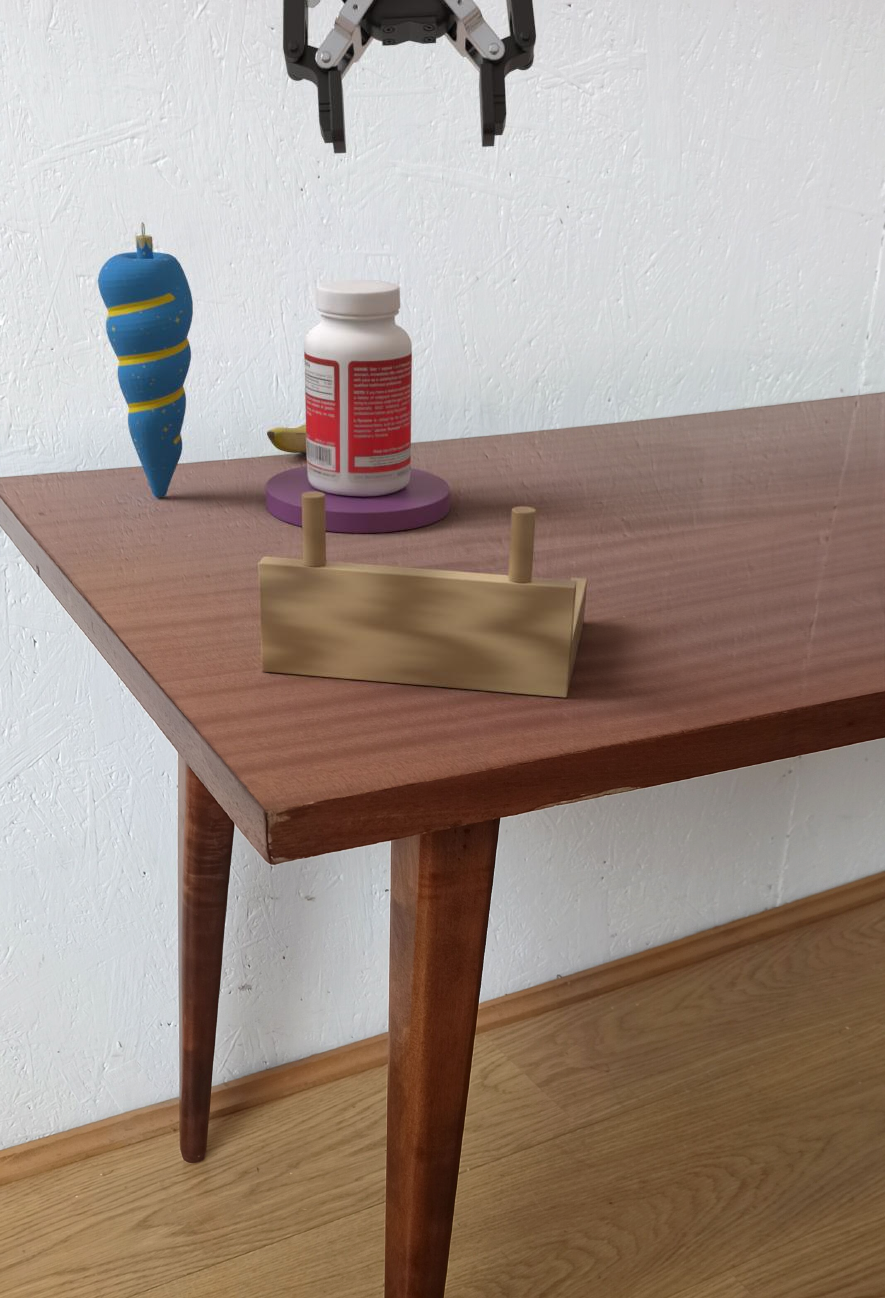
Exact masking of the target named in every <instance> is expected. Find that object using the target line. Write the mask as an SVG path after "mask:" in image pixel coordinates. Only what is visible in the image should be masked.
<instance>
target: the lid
mask: <svg viewBox="0 0 885 1298" xmlns="http://www.w3.org/2000/svg"><path fill="white" fill-rule="evenodd" d="M309 491H317V492H322V493H324V494H325V521H326V532H331V533H332V532H334V533H346V534H379V533H391V532H401V531H409V530H413V529H418V528H422V527H426V526H429V525H431V524H434V523H436V522H438V521H440V520H442V519H444V518H446V516H447V515H448V514H449V512H450V509H451V487H450V485H449V483H448V482H447V481H446V480H445V479H444V478H442V477H440V476H438V475H436V474H434V473H431V472H428V471H425V470H421V469H417V468H413V467H411V470H410V480H409V482H408V484H407V485H406V486H405V487H404V488H403V489H401V490H399V491H396V492H393V493H390V494H386V495H380V496H367V497H362V496H345V495H337V494H331V493H327V492H324V491H321V490H318V489H316V488H314V487H313V486H312V485H311V484H310V482H309V480H308V474H307V465H304V466H299V467H298V466H297V467H294V468H290V469H287V470H284V471H281V472H279V473H277V474H275V475H273V476H272V477H270V478H269V479H268V480H267V481H266V483H265V506H266V510H267V511H268V512H269V514H271V516H273V517H275V518H277V519H278V520H280V521H282V522H285V523H288V524H291V525H293V526H298V527H301V528H302V493H304V492H309Z"/></svg>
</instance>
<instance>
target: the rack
mask: <svg viewBox="0 0 885 1298" xmlns="http://www.w3.org/2000/svg"><path fill="white" fill-rule="evenodd" d="M536 514H537V510H536V509H535V508H534V507H531V506H524V505H523V506H520V505H519V506H515V507H512V509H511V519H510V520H511V521H510V522H511V523H510V537H509V538H510V539H509V555H508V557H509V558H508V575H507V574H496V573H495V574H494V573H484V572H483V573H482V572H469V571H457V570H446V569H445V570H443V569H430V568H420V567H418V568H417V567H405V566H394V565H393V566H391V565H380V564H379V565H378V564H369V563H368V564H367V563H366V564H365V563H354V562H343V561H329V560H327V539H326V538H327V536H326V535H327V534H326V532H327V531H326V521H325V494H324V493H322V492H317V491H309V492H304V493H302V527H301V528H302V529H301V531H302V532H301V533H302V535H301V536H302V537H301V539H302V559H301V558H288V557H278V556H277V557H275V556H263V557H262V558H261V559H260V561H259V562H258V563H257V568H258V569H257V570H258V592H259V593H258V594H259V596H258V597H259V598H258V599H259V620H260V621H259V623H260V625H259V626H260V647H261V648H260V651H261V652H260V653H261V671H262V672H264V673H276V674H289V675H299V676H310V677H311V676H312V677H321V678H322V677H324V678H334V679H346V680H355V681H356V680H358V681H369V682H379V683H389V684H390V683H393V684H402V685H403V684H404V685H412V686H413V685H414V686H426V687H438V688H449V689H459V690H473V691H482V692H483V691H484V692H485V691H486V692H495V693H505V694H506V693H508V694H518V695H529V696H541V697H553V698H564V699H565V698H567V697H568V692H569V688H570V683H571V679H572V674H573V672H574V667H575V666H574V665H575V661H576V658H577V653H578V648H579V644H580V641H581V635H582V631H583V626H584V621H585V614H586V613H585V611H586V600H587V589H588V588H587V586H588V579H587V578H585V577H584V578H583V577H571V578H570V579H558V578H548V577H546V578H545V577H534V576H533V567H534V566H533V564H534V550H535V549H534V547H535V530H536Z"/></svg>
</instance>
